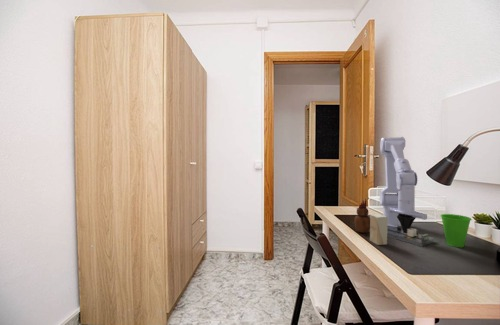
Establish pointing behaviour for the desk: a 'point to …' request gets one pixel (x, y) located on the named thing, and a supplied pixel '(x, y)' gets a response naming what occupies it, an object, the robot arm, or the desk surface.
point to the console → (416, 240)
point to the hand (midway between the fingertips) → (406, 232)
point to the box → (378, 229)
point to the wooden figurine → (362, 219)
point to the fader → (411, 232)
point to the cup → (455, 229)
